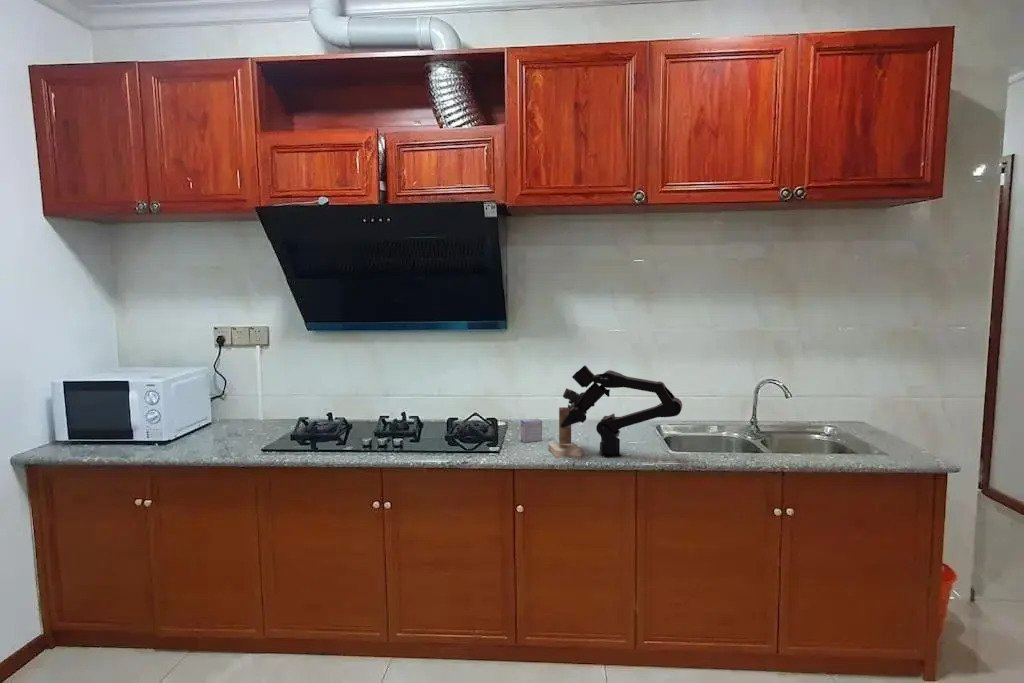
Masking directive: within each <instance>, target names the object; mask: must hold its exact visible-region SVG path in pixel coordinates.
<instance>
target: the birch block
mask: <svg viewBox="0 0 1024 683" xmlns="http://www.w3.org/2000/svg"><path fill="white" fill-rule="evenodd" d="M548 452H549V453H551V455H553V456H554V458H556V459H557V458H559V459H560V458H570V457H572V458H573V457H582V448H580V446H579V445H577V444H576V443H575V442H573V441H571V444H559V442H557V443H548Z"/></svg>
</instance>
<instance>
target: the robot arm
mask: <svg viewBox="0 0 1024 683" xmlns="http://www.w3.org/2000/svg"><path fill="white" fill-rule="evenodd" d="M571 378H572V379H573V380H574V381H575V382H576V383H577V384H578V385H579V386H580V387H581V388H587V389H586V390H585V391H583V392H581V393H578V392H577V391H574V390H573V389H569V388H565V390H564V392H563V394H562V398H564V399H566V400H568V404H567V407H571V409H569V415H568V416H567V418H566V419H565V420H564V422H563V423H562V425H561V427H562V428H564V427H566V426H569V425H571V426H572V425H575V424H577V423H582V424H583V423H585V422H586V420H587V413H588V411H589V410H590V409H591V408H592V407H595V406H596V405H595V404H596V403H597V402H598V401H599V400H600V399H601V398H602V397H603V396H606V397H607V398H609V397H610V396H611V395H610V392H611V389H617V388H618V389H619V388H627V389H632V390H638V391H644V392H649V393H655V394H656V395H657V397H658V399H659V400H660V402H661V403H659V404H657V405H655V406H652V407H648V408H644V409H642V410H639V411H635V412H631V413H628V414H625V415H622V416H615V413H611V414H610V415H604V416H603V417H602V418H601V419H600V420H599V421H598V423H597V425H596V428H595V429H596V432H597V433H598V435H599V436H600V438H601V439H600V440H601V441H599V453H598V454H601V455H602V456H603V457H604V458H612V457H613V456H616V457H621V456H622V454H621V453H620V452H621V450H620V447H621V446H620V445H621V443H620V440H621V438H619V436H620V433H621V431H620V429H622V428H626V427H629V426H632V425H636V424H640V423H643V422H646V421H649V420H650V421H651V420H652V419H653V420H654V419H656V418H673V417H677V416H679V415H680V413H681V412H682V408H683V402H682V401H681V399H680V398H678V397H675V395H674V394H673V392H672V391H671V390H670V389H668V388H667V386H666V385H665V383H664V382H663V381H655V380H649V379H644V378H638V377H632V376H626V375H624V374H622V373H620V372H618V371H614V370H611V369H609V370H606V371H605V372H603V373H596V374H595V373H593V372H592V371H591V370H590V369H589V368H588V366H587V365H585V364H584V365H583V366H582V367H581V368H580V369H579V370H577V371H576V372H575V373H574V374H573V375H572V376H571ZM613 458H614V457H613Z"/></svg>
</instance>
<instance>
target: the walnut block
mask: <svg viewBox="0 0 1024 683" xmlns="http://www.w3.org/2000/svg"><path fill="white" fill-rule="evenodd" d="M569 409H571V407H568V406H567V407H566V406H565V407H562V406H561V407H560V406H559V407H558V433H559V434H558V443H559V444H571V442H572V425H569V426H566V427H564V428H562V427H561V425H562V423H563V422H564V420H565V419H566V418H567V416H568V415H569Z"/></svg>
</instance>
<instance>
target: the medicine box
mask: <svg viewBox="0 0 1024 683" xmlns="http://www.w3.org/2000/svg"><path fill="white" fill-rule="evenodd" d="M521 440H522V441H521ZM520 441H521V442H523V443H524V442H526V443H534V442H542V441H543V421H542V420H541V419H540V418H537V417H536V418H527V419H520Z"/></svg>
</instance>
